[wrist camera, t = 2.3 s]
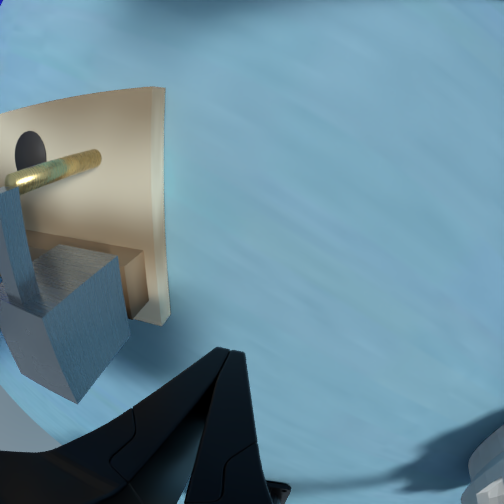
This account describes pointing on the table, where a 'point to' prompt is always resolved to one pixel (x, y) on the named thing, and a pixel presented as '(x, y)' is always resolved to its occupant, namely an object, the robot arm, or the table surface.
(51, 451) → the robot arm
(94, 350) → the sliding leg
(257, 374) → the table surface
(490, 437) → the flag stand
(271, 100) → the table surface
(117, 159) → the hole plate
